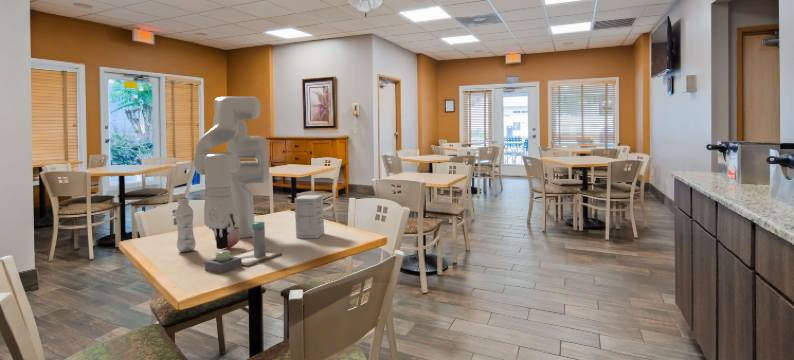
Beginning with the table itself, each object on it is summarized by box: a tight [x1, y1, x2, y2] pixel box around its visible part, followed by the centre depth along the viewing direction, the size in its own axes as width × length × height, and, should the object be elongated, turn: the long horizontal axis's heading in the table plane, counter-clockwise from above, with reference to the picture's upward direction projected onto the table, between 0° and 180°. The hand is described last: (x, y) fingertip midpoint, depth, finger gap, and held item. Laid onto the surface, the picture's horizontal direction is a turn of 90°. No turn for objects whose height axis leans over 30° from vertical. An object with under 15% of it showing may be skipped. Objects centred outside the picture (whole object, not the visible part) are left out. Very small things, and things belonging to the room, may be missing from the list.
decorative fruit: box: [214, 225, 241, 250], centre depth 174 cm, size 9×8×10 cm
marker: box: [252, 221, 267, 258], centre depth 160 cm, size 4×4×12 cm
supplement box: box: [294, 194, 325, 239], centre depth 192 cm, size 10×9×17 cm
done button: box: [215, 249, 231, 262], centre depth 149 cm, size 4×4×2 cm
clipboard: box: [232, 248, 283, 268], centre depth 161 cm, size 14×16×1 cm
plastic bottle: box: [174, 197, 197, 253], centre depth 170 cm, size 6×7×20 cm
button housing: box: [204, 255, 243, 275], centre depth 150 cm, size 8×8×3 cm
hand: (222, 247), depth 149 cm, fingers closed
